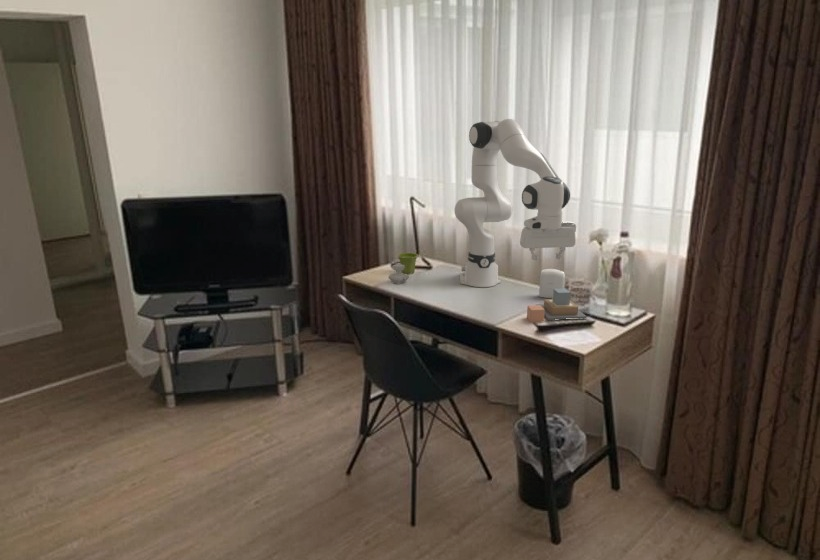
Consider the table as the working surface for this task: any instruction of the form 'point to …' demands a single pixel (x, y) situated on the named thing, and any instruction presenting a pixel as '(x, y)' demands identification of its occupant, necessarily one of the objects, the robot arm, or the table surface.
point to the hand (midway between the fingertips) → (546, 259)
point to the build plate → (552, 317)
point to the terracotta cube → (535, 313)
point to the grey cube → (561, 296)
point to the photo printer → (551, 282)
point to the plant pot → (408, 262)
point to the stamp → (398, 274)
